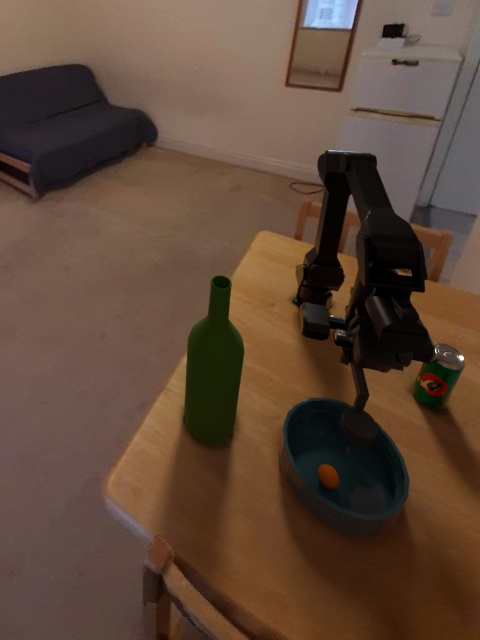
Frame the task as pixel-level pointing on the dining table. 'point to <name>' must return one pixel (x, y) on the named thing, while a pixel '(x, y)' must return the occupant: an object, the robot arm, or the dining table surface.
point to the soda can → (439, 376)
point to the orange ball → (328, 476)
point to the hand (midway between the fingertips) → (351, 364)
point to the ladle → (358, 410)
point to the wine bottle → (213, 369)
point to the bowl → (342, 470)
